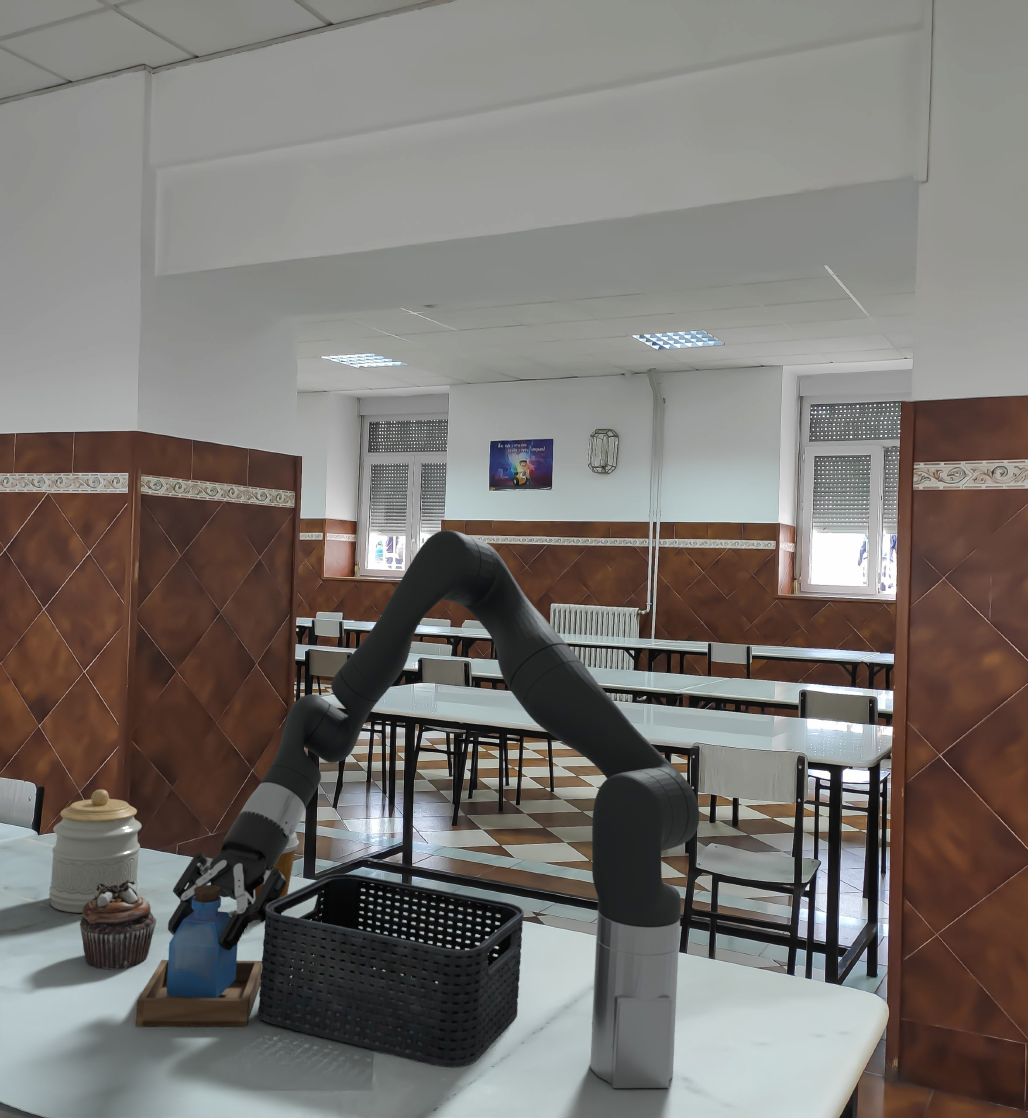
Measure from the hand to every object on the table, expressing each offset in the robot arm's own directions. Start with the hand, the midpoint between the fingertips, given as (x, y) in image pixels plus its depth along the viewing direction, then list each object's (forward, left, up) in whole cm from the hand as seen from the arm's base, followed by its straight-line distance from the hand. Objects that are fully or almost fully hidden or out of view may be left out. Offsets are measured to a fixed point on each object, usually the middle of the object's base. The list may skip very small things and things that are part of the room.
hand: (198, 940), depth 123 cm
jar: (+40, +23, -8) cm, 47 cm away
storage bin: (-2, -24, -9) cm, 25 cm away
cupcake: (+16, +13, -8) cm, 23 cm away
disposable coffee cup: (+37, -4, -8) cm, 38 cm away
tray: (+1, -1, -8) cm, 8 cm away
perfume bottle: (+1, -1, -6) cm, 7 cm away
